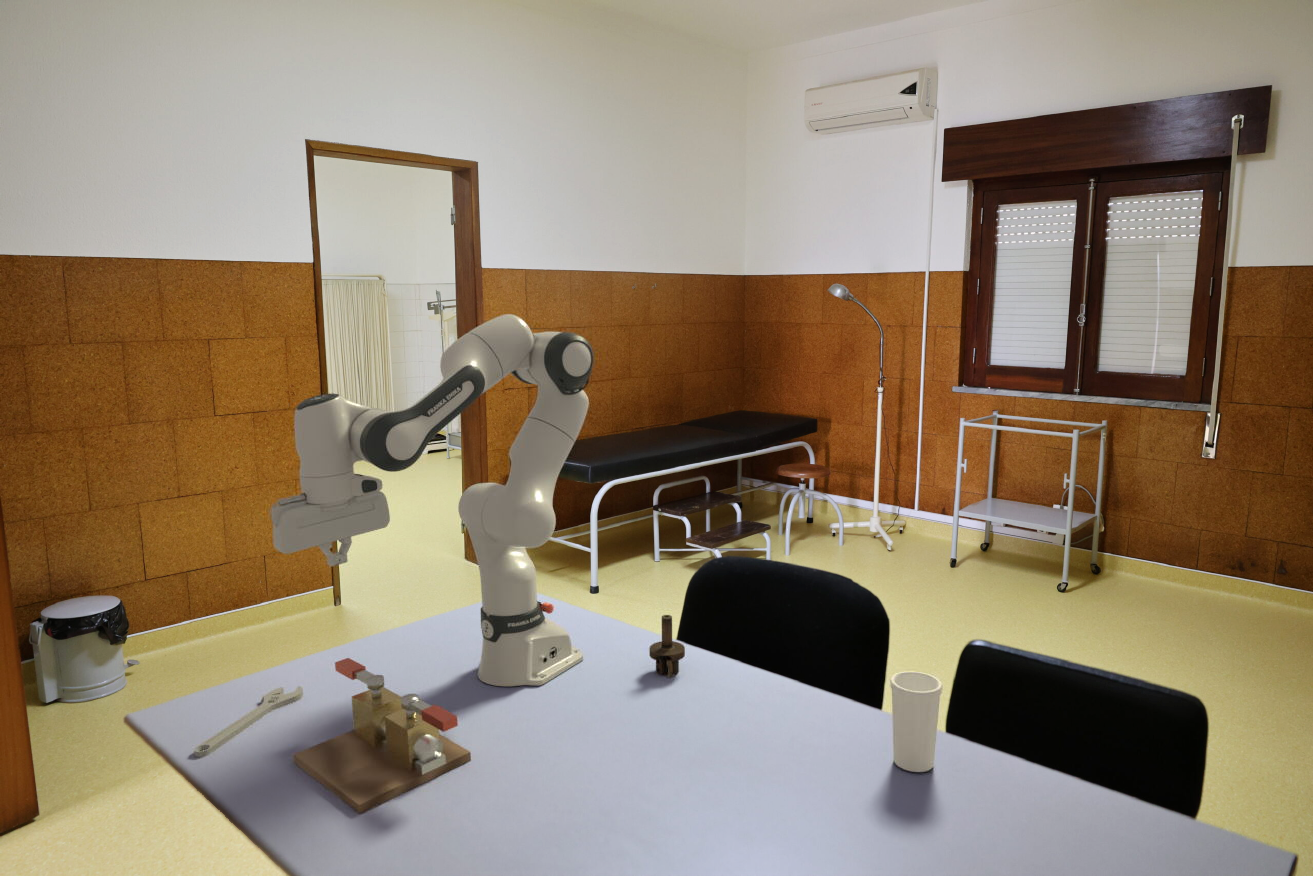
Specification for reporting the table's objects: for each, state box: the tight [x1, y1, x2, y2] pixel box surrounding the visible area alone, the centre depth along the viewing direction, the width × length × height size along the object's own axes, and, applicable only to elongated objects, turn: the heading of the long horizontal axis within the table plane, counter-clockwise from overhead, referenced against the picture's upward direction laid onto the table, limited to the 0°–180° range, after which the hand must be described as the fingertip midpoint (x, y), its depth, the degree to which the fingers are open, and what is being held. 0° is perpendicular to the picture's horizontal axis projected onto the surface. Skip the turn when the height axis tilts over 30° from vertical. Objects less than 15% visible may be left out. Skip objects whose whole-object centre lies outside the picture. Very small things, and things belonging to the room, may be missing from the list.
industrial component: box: [648, 614, 686, 679], centre depth 175 cm, size 9×7×12 cm
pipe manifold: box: [351, 686, 459, 775], centre depth 142 cm, size 6×28×10 cm, turn 47°
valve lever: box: [334, 657, 385, 690], centre depth 151 cm, size 13×3×2 cm, turn 48°
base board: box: [292, 729, 472, 814], centre depth 143 cm, size 20×22×2 cm
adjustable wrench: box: [193, 685, 304, 758], centre depth 158 cm, size 25×6×2 cm, turn 160°
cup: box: [889, 670, 944, 773], centre depth 138 cm, size 8×8×14 cm
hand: (337, 564), depth 151 cm, fingers closed
